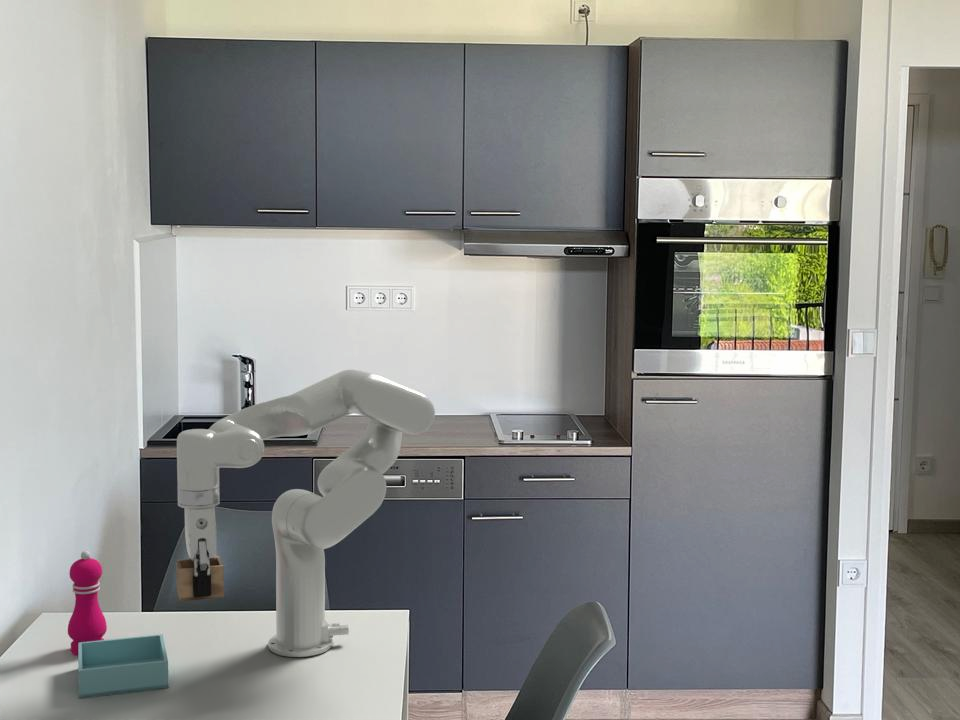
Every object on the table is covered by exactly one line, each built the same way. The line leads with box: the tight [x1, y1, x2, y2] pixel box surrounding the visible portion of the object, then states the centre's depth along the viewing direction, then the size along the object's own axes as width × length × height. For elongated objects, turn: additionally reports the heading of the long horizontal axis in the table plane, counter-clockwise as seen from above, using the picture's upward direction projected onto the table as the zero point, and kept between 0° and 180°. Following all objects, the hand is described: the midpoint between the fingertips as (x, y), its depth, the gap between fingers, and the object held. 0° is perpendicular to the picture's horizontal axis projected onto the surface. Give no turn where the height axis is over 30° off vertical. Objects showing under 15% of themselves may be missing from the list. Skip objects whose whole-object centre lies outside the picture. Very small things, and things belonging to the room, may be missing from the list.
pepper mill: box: [67, 550, 108, 657], centre depth 217 cm, size 7×7×20 cm
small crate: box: [175, 555, 225, 602], centre depth 208 cm, size 8×6×6 cm
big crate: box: [77, 633, 169, 699], centre depth 205 cm, size 15×14×5 cm
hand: (200, 589), depth 208 cm, fingers closed on small crate, 6 cm apart
